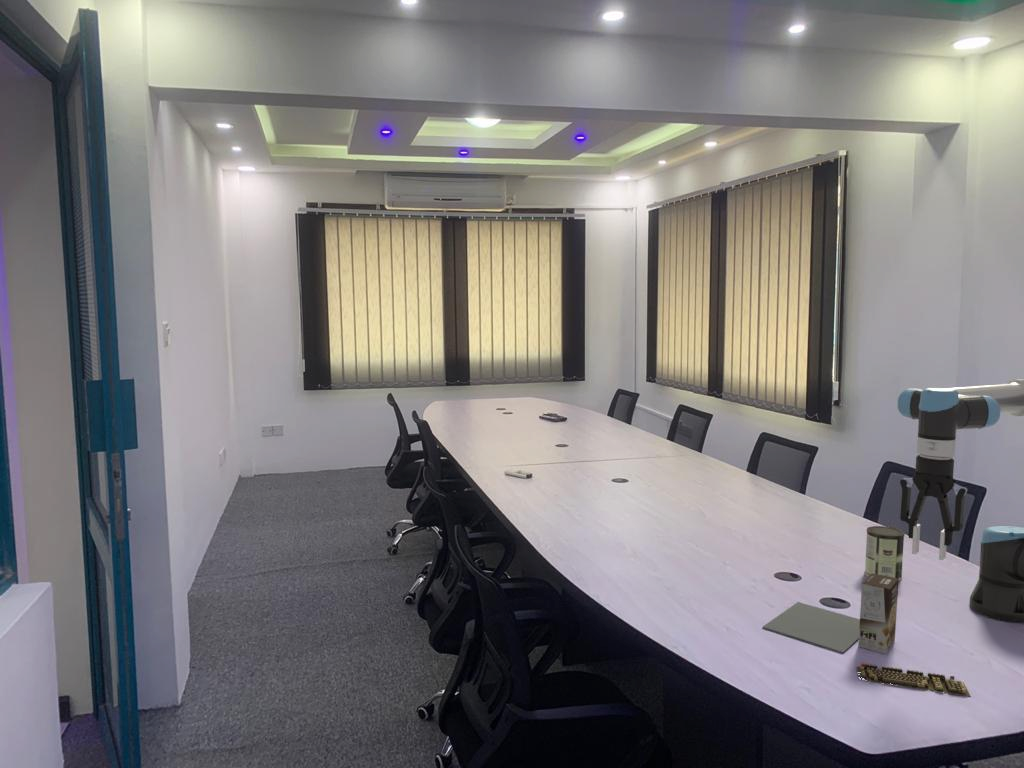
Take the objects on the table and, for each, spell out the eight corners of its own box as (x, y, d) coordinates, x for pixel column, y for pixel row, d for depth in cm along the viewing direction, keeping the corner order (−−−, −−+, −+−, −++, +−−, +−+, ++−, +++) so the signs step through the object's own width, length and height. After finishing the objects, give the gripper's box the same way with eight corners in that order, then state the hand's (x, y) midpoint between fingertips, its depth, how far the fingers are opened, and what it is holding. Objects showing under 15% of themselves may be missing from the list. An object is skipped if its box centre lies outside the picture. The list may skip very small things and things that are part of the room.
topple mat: (874, 624, 190) (874, 623, 190) (843, 653, 174) (843, 652, 174) (797, 603, 204) (798, 601, 204) (762, 628, 188) (762, 626, 188)
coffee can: (886, 568, 231) (889, 525, 229) (909, 580, 221) (912, 535, 219) (857, 570, 229) (859, 526, 228) (878, 582, 219) (881, 536, 218)
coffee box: (886, 654, 174) (890, 589, 172) (857, 646, 178) (861, 582, 176) (895, 641, 181) (899, 578, 179) (867, 633, 185) (871, 572, 183)
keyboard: (858, 683, 162) (858, 675, 162) (853, 665, 170) (854, 656, 170) (972, 701, 155) (972, 692, 154) (961, 681, 163) (962, 672, 163)
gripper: (887, 453, 171) (881, 550, 173) (976, 464, 159) (969, 569, 161) (897, 448, 176) (892, 542, 179) (984, 459, 164) (977, 560, 166)
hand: (928, 555), depth 170 cm, fingers open, 5 cm apart
